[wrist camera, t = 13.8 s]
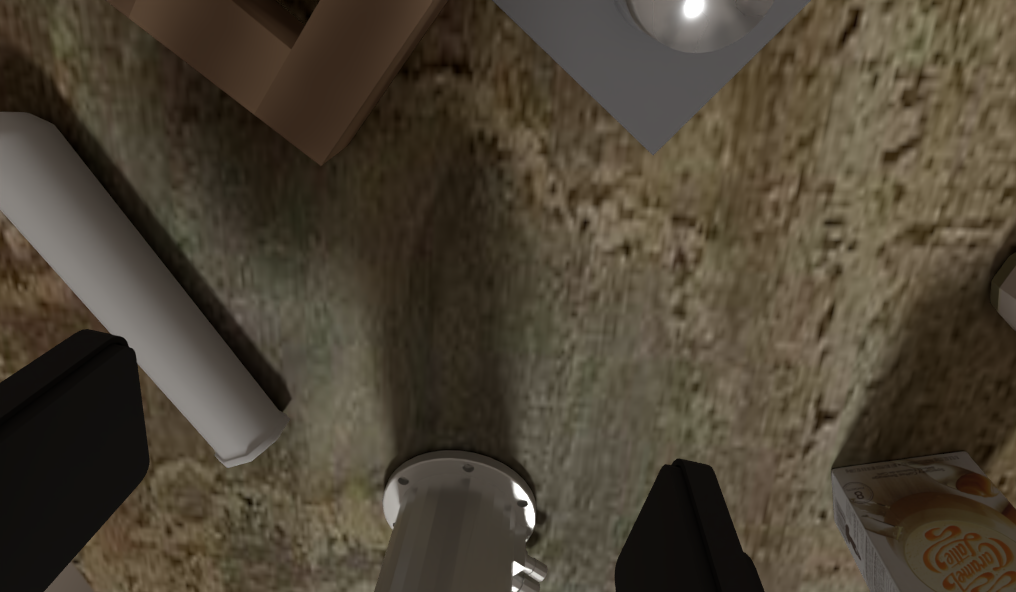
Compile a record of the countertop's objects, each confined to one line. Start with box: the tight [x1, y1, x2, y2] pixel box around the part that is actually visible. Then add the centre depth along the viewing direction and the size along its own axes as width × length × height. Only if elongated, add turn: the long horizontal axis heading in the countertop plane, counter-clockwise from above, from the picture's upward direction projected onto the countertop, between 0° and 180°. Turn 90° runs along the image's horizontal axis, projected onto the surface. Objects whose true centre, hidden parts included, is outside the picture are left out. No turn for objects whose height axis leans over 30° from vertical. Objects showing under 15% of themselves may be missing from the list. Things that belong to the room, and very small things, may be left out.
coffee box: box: [831, 451, 1016, 592], centre depth 33 cm, size 9×6×16 cm
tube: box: [0, 112, 290, 468], centre depth 35 cm, size 5×5×25 cm
